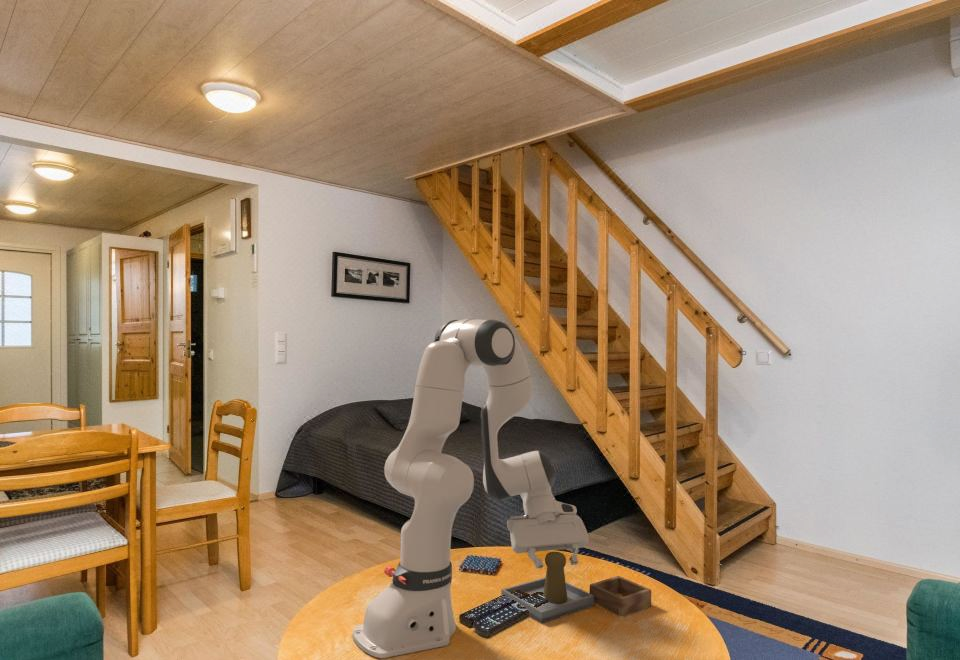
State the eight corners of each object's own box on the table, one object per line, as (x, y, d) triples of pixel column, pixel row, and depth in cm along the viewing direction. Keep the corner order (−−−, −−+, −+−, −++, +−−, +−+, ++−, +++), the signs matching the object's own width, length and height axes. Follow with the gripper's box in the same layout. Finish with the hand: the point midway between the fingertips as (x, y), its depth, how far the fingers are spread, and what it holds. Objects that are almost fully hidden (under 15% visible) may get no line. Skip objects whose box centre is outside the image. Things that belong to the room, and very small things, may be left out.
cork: (569, 603, 141) (569, 557, 141) (543, 603, 141) (544, 557, 141) (565, 593, 147) (566, 549, 147) (541, 592, 147) (542, 548, 147)
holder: (622, 617, 137) (622, 599, 137) (589, 600, 146) (589, 584, 146) (651, 606, 143) (651, 589, 143) (618, 591, 152) (618, 575, 152)
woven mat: (495, 577, 160) (495, 570, 160) (458, 573, 163) (458, 566, 163) (503, 564, 170) (503, 557, 171) (467, 560, 173) (468, 553, 173)
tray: (541, 623, 133) (541, 612, 133) (501, 599, 145) (501, 589, 145) (593, 605, 143) (594, 595, 143) (552, 585, 155) (552, 575, 155)
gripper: (508, 510, 148) (521, 563, 139) (581, 505, 154) (598, 556, 145) (502, 523, 153) (514, 575, 143) (573, 518, 159) (589, 567, 149)
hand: (557, 565), depth 144 cm, fingers open, 8 cm apart
